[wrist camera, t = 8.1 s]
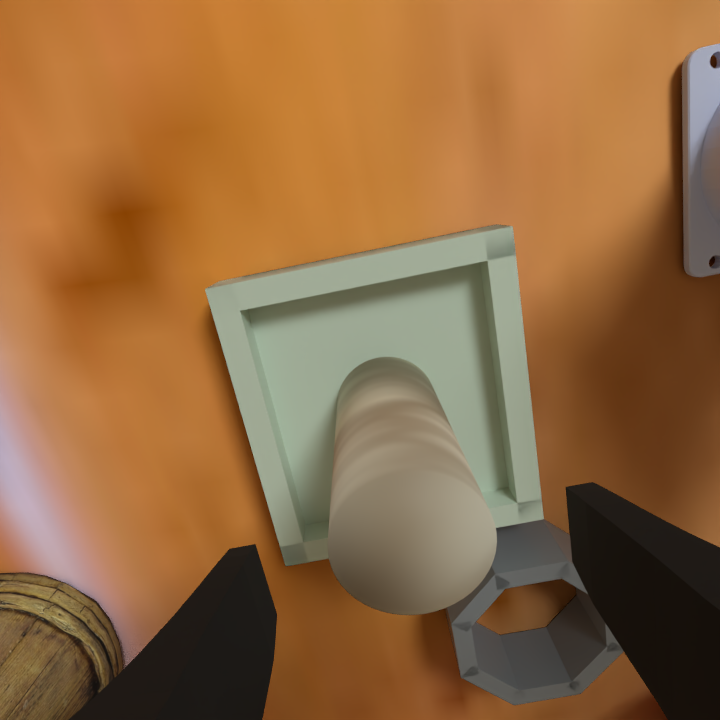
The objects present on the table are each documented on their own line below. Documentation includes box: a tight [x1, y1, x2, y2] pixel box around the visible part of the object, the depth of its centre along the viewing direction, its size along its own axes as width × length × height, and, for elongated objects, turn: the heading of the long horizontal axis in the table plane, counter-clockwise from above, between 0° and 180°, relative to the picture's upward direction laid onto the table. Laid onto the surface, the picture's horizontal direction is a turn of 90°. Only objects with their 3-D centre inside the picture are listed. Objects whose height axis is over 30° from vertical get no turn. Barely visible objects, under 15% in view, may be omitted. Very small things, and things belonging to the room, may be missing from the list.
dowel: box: [328, 357, 497, 615], centre depth 16 cm, size 4×4×9 cm
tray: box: [205, 225, 544, 566], centre depth 20 cm, size 11×12×2 cm
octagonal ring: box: [445, 519, 624, 705], centre depth 23 cm, size 7×7×3 cm
